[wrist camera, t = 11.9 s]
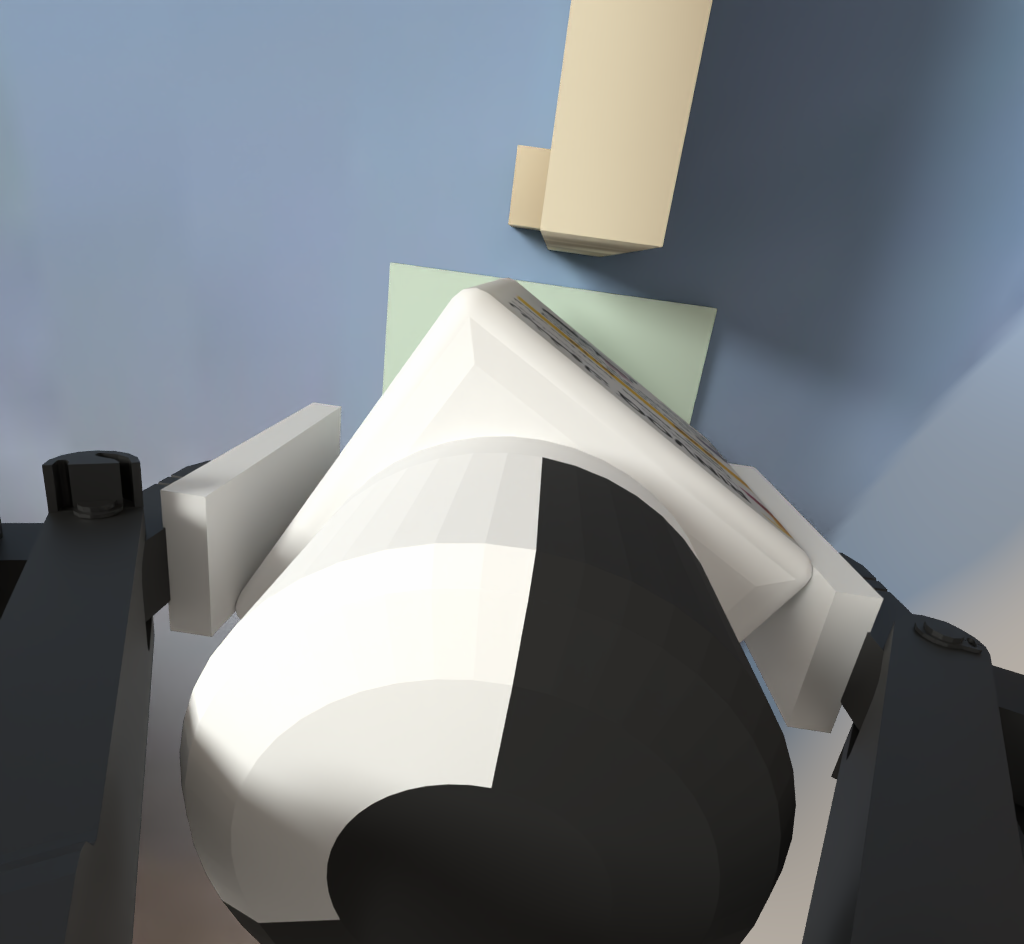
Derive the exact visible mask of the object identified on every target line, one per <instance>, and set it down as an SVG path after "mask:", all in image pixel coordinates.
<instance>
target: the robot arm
mask: <svg viewBox="0 0 1024 944" xmlns="http://www.w3.org/2000/svg"><path fill="white" fill-rule="evenodd" d="M340 427H341V406H334V405H327V404H320V403H312V404H310V405H308V406H306V407H305V408H303V409H301V410H299V411H298V412H296V413H294V414H292V415H291V416H289V417H287V418H285V419H284V420H282V421H280V422H278V423H277V424H275V425H273V426H271V427H270V428H268V429H266V430H264V431H263V432H261V433H259V434H257V435H256V436H254V437H252V438H250V439H249V440H247V441H245V442H243V443H242V444H240V445H238V446H236V447H235V448H233V449H231V450H229V451H228V452H226V453H224V454H222V455H221V456H219V457H217V458H215V459H214V460H212V461H210V460H209V461H206V462H202V463H198V464H195V465H191V466H187V467H185V468H183V469H182V470H180V471H178V472H176V473H174V474H172V475H171V477H167V478H165V479H163V480H162V481H160V482H159V483H158V484H154V485H152V486H151V487H149V488H147V489H145V490H143V491H142V480H141V468H140V461H139V459H138V457H135V456H133V455H131V454H129V453H123V452H117V451H85V452H76V453H71V454H65V455H61V456H58V457H55V458H53V459H50V460H48V461H47V462H46V463H44V464H43V465H42V469H43V476H44V483H45V490H46V497H47V504H48V511H49V513H48V516H47V518H46V520H45V522H44V523H1V519H0V944H132V938H133V924H134V910H135V896H136V883H137V869H138V855H139V841H140V828H141V814H142V800H143V786H144V773H145V759H146V745H147V731H148V717H149V704H150V690H151V676H152V662H153V649H154V624H153V615H154V614H155V613H157V612H158V611H159V610H160V609H161V608H162V607H163V606H165V605H166V604H167V603H168V604H169V618H170V630H171V631H177V632H184V633H190V634H197V635H203V636H210V637H212V636H213V635H214V634H215V633H216V632H217V631H218V630H219V628H220V627H221V626H222V625H223V624H224V623H225V622H226V621H227V620H228V619H229V618H230V617H231V615H232V614H233V613H234V612H235V611H236V609H235V607H236V603H237V600H238V598H239V595H240V593H241V591H242V590H243V589H244V587H245V586H246V585H247V583H248V582H249V580H250V579H251V578H252V576H253V575H254V573H255V572H256V571H257V569H258V568H259V566H260V565H261V564H262V562H263V561H264V559H265V558H266V557H267V555H268V554H269V552H270V551H271V550H272V548H273V547H274V546H275V544H276V543H277V541H278V540H279V539H280V537H281V536H282V534H283V533H284V532H285V530H286V529H287V527H288V526H289V525H290V523H291V522H292V520H293V519H294V518H295V516H296V515H297V514H298V512H299V511H300V509H301V508H302V507H303V505H304V504H305V502H306V501H307V500H308V498H309V497H310V495H311V494H312V493H313V491H314V490H315V488H316V487H317V486H318V484H319V483H320V481H321V480H322V479H323V477H324V476H325V475H326V473H327V472H328V470H329V469H330V468H331V466H332V465H333V463H334V462H335V461H336V459H337V458H338V456H339V455H340ZM728 464H729V465H730V466H731V467H732V468H733V469H734V471H735V472H736V473H737V474H738V475H739V476H740V478H741V479H742V480H743V481H744V482H745V483H746V484H747V486H748V487H749V488H750V489H751V490H752V491H753V493H754V494H755V495H756V496H757V497H758V498H759V499H760V501H761V502H762V503H763V504H764V505H765V506H766V508H767V509H768V510H769V511H770V512H771V513H772V515H773V516H774V517H775V518H776V519H777V520H778V521H779V523H780V524H781V525H782V526H783V527H784V528H785V530H786V531H787V532H788V533H789V534H790V535H791V536H792V538H793V539H794V540H795V541H796V542H797V543H798V545H799V546H800V547H801V548H802V549H803V550H804V551H805V553H806V554H807V556H808V557H809V559H810V561H811V564H812V577H811V578H810V580H809V581H808V583H807V584H806V585H805V586H804V587H803V588H802V589H801V590H800V591H798V592H797V593H796V594H795V595H794V596H793V597H792V598H790V599H789V600H788V601H787V602H786V603H785V604H784V605H783V606H781V607H780V608H779V609H778V610H777V611H776V612H775V613H773V614H772V615H771V616H770V617H769V618H768V619H767V620H765V621H764V622H763V623H762V624H761V625H760V626H759V627H757V628H756V629H755V630H754V631H753V632H752V633H751V634H750V635H748V636H747V637H746V638H745V639H744V641H745V643H746V645H747V647H748V649H749V651H750V653H751V655H752V657H753V659H754V661H755V663H756V665H757V667H758V669H759V671H760V673H761V675H762V677H763V679H764V681H765V683H766V685H767V687H768V689H769V691H770V693H771V695H772V697H773V699H774V701H775V703H776V705H777V707H778V709H779V711H780V713H781V715H782V717H783V719H784V721H785V723H786V725H787V726H788V727H795V728H801V729H808V730H814V731H821V732H827V733H831V731H832V728H833V726H834V723H835V721H836V718H837V715H838V713H839V710H840V708H841V705H843V707H844V708H845V710H846V711H847V713H848V714H849V716H850V717H851V719H852V721H853V724H852V727H851V729H850V732H849V734H848V737H847V739H846V742H845V744H844V747H843V749H842V752H841V754H840V756H839V759H838V761H837V764H836V766H835V769H834V771H833V774H832V776H831V777H833V778H835V779H837V783H836V787H835V792H834V797H833V801H832V806H831V811H830V815H829V820H828V825H827V830H826V834H825V839H824V843H823V848H822V853H821V857H820V862H819V867H818V871H817V876H816V880H815V885H814V890H813V895H812V899H811V904H810V909H809V913H808V918H807V922H806V927H805V932H804V936H803V941H802V944H1024V675H1022V674H1019V673H1015V672H1012V671H1009V670H1005V669H1002V668H999V667H996V666H993V665H992V663H991V657H990V654H989V652H988V650H987V649H986V647H985V646H984V645H983V644H982V643H980V641H978V640H977V639H976V638H974V637H973V636H971V635H969V634H968V633H966V632H964V631H963V630H961V629H959V628H957V627H955V626H953V625H951V624H949V623H947V622H944V621H941V620H937V619H934V618H930V617H926V616H923V615H915V614H912V613H910V612H909V610H908V609H907V608H906V607H905V606H904V605H903V604H901V603H900V602H899V601H898V600H897V599H896V598H895V597H894V596H893V595H892V594H891V593H890V592H887V589H886V588H885V587H884V586H883V585H882V584H881V583H880V582H879V581H876V578H875V577H874V576H873V575H872V574H871V573H870V572H869V571H868V570H867V569H866V568H865V567H864V566H863V565H861V564H859V563H858V562H856V561H854V560H853V559H851V558H849V557H848V556H846V555H844V554H843V553H838V552H837V551H836V550H835V549H834V548H833V547H832V546H831V545H830V544H829V543H828V542H827V541H826V540H825V539H824V538H823V537H822V536H821V535H820V534H819V533H818V531H817V530H816V529H815V528H814V527H813V526H812V525H811V524H810V523H809V522H808V521H807V520H806V519H805V518H804V517H803V516H802V515H801V514H800V513H799V512H798V511H797V510H796V509H795V508H794V507H793V506H792V505H791V504H790V503H789V502H788V501H787V500H786V499H785V498H784V497H783V496H782V495H781V494H780V493H779V492H778V491H777V490H776V489H775V488H774V487H773V485H772V484H771V483H770V482H769V481H768V480H767V479H766V478H765V477H764V476H763V475H762V474H761V473H760V472H759V471H758V470H757V469H756V468H755V467H751V466H744V465H737V464H730V463H728Z"/></svg>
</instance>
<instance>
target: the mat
mask: <svg viewBox="0 0 1024 944" xmlns="http://www.w3.org/2000/svg"><path fill="white" fill-rule="evenodd" d="M498 279H503V278H498V277H491V276H484V275H477V274H470V273H463V272H455V271H448V270H441V269H434V268H427V267H420V266H413V265H406V264H399V263H390V277H389V293H388V310H387V327H386V344H385V361H384V378H383V394H384V392H385V391H386V390H387V388H388V387H389V385H390V384H391V383H392V381H393V380H394V378H395V377H396V376H397V374H398V373H399V372H400V370H401V369H402V367H403V366H404V365H405V363H406V362H407V360H408V359H409V358H410V356H411V355H412V353H413V352H414V351H415V349H416V348H417V346H418V345H419V344H420V342H421V341H422V339H423V338H424V337H425V335H426V334H427V333H428V331H429V330H430V328H431V327H432V326H433V324H434V323H435V321H436V320H437V319H438V317H439V316H440V314H441V313H442V312H443V310H444V309H445V307H446V306H447V305H448V303H449V302H450V300H451V299H452V298H453V297H454V296H455V295H456V294H458V293H459V292H460V291H461V290H463V289H466V288H470V287H473V286H477V285H480V284H484V283H488V282H491V281H495V280H498ZM515 281H517V282H518V283H519V284H520V285H522V286H523V287H524V288H525V289H526V290H528V291H529V292H530V293H531V294H532V295H534V296H535V297H536V298H537V299H539V300H540V301H541V302H542V303H543V304H545V305H546V306H547V307H548V308H549V309H551V310H552V311H553V312H554V313H555V314H557V315H558V316H559V317H560V318H561V319H563V320H564V321H565V322H566V323H567V324H569V325H570V326H571V327H572V328H573V329H575V330H576V331H577V332H578V333H580V334H581V335H582V336H583V337H584V338H586V339H587V340H588V341H589V342H590V343H592V344H593V345H594V346H595V347H596V348H598V349H599V350H600V351H601V352H602V353H604V354H605V355H606V356H607V357H608V358H610V359H611V360H612V361H613V362H614V363H616V364H617V365H618V366H619V367H621V368H622V369H623V370H624V371H625V372H627V373H628V374H629V375H630V376H631V377H633V378H634V379H635V380H636V381H637V382H639V383H640V384H641V385H642V386H643V387H645V388H646V389H647V390H648V391H649V392H651V393H652V394H653V395H654V396H655V397H657V398H658V399H659V400H660V401H662V402H663V403H664V404H665V405H666V406H668V407H669V408H670V409H671V410H672V411H674V412H675V413H676V414H677V415H678V416H680V417H681V418H682V419H683V420H684V421H686V422H687V423H688V424H689V425H690V420H691V416H692V412H693V408H694V404H695V400H696V395H697V391H698V387H699V383H700V379H701V375H702V370H703V366H704V362H705V358H706V354H707V350H708V345H709V341H710V337H711V333H712V329H713V325H714V320H715V316H716V312H717V309H716V308H711V307H704V306H697V305H690V304H683V303H676V302H669V301H662V300H654V299H647V298H640V297H633V296H626V295H619V294H612V293H605V292H598V291H590V290H583V289H576V288H569V287H562V286H555V285H548V284H541V283H534V282H526V281H519V280H515Z"/></svg>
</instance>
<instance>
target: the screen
mask: <svg viewBox="0 0 1024 944" xmlns="http://www.w3.org/2000/svg"><path fill="white" fill-rule="evenodd" d="M712 1H713V0H571V7H570V14H569V22H568V29H567V36H566V44H565V51H564V58H563V66H562V73H561V80H560V88H559V95H558V102H557V109H556V117H555V124H554V131H553V139H552V146H551V149H544V148H536V147H529V146H522V145H518V148H517V157H516V165H515V173H514V182H513V190H512V198H511V207H510V215H509V223H508V224H509V225H510V226H511V227H518V228H525V229H532V230H539V231H541V234H542V236H543V238H544V241H545V243H546V246H547V248H548V250H554V251H561V252H568V253H576V254H583V255H590V256H597V257H603V256H610V255H616V254H622V253H628V252H634V251H641V250H647V249H653V248H659V247H663V242H664V237H665V232H666V227H667V222H668V217H669V212H670V207H671V202H672V198H673V193H674V188H675V183H676V178H677V173H678V168H679V163H680V158H681V153H682V148H683V143H684V138H685V134H686V129H687V124H688V119H689V114H690V109H691V104H692V99H693V94H694V89H695V84H696V79H697V74H698V69H699V65H700V60H701V55H702V50H703V45H704V40H705V35H706V30H707V25H708V20H709V15H710V10H711V5H712Z"/></svg>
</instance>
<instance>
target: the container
mask: <svg viewBox="0 0 1024 944" xmlns="http://www.w3.org/2000/svg"><path fill="white" fill-rule="evenodd" d="M811 577H812V564H811V561H810V559H809V557H808V556H807V554H806V553H805V551H804V550H803V549H802V548H801V547H800V546H799V545H798V543H797V542H796V541H795V540H794V539H793V538H792V536H791V535H790V534H789V533H788V532H787V531H786V530H785V528H784V527H783V526H782V525H781V524H780V523H779V521H778V520H777V519H776V518H775V517H774V516H773V515H772V513H771V512H770V511H769V510H768V509H767V508H766V506H765V505H764V504H763V503H762V502H761V501H760V499H759V498H758V497H757V496H756V495H755V494H754V493H753V491H752V490H751V489H750V488H749V487H748V486H747V484H746V483H745V482H744V481H743V480H742V479H741V478H740V476H739V475H738V474H737V473H736V472H735V471H734V469H733V468H732V467H731V466H730V465H729V464H728V462H727V461H726V460H725V459H724V458H723V457H722V456H721V454H720V453H719V452H718V451H717V450H716V449H715V447H714V446H713V445H712V444H711V443H710V442H709V441H708V440H707V439H706V438H705V437H704V436H703V435H701V434H700V433H699V432H698V431H697V430H695V429H694V428H693V427H692V426H690V425H689V424H688V423H687V422H686V421H684V420H683V419H682V418H681V417H680V416H678V415H677V414H676V413H675V412H674V411H672V410H671V409H670V408H669V407H668V406H666V405H665V404H664V403H663V402H662V401H660V400H659V399H658V398H657V397H655V396H654V395H653V394H652V393H651V392H649V391H648V390H647V389H646V388H645V387H643V386H642V385H641V384H640V383H639V382H637V381H636V380H635V379H634V378H633V377H631V376H630V375H629V374H628V373H627V372H625V371H624V370H623V369H622V368H621V367H619V366H618V365H617V364H616V363H614V362H613V361H612V360H611V359H610V358H608V357H607V356H606V355H605V354H604V353H602V352H601V351H600V350H599V349H598V348H596V347H595V346H594V345H593V344H592V343H590V342H589V341H588V340H587V339H586V338H584V337H583V336H582V335H581V334H580V333H578V332H577V331H576V330H575V329H573V328H572V327H571V326H570V325H569V324H567V323H566V322H565V321H564V320H563V319H561V318H560V317H559V316H558V315H557V314H555V313H554V312H553V311H552V310H551V309H549V308H548V307H547V306H546V305H545V304H543V303H542V302H541V301H540V300H539V299H537V298H536V297H535V296H534V295H532V294H531V293H530V292H529V291H528V290H526V289H525V288H524V287H523V286H522V285H520V284H519V283H518V282H517V281H515V280H513V279H511V278H503V279H498V280H495V281H491V282H488V283H484V284H480V285H477V286H473V287H470V288H466V289H463V290H461V291H460V292H459V293H458V294H456V295H455V296H454V297H453V298H452V299H451V300H450V302H449V303H448V305H447V306H446V307H445V309H444V310H443V312H442V313H441V314H440V316H439V317H438V319H437V320H436V321H435V323H434V324H433V326H432V327H431V328H430V330H429V331H428V333H427V334H426V335H425V337H424V338H423V339H422V341H421V342H420V344H419V345H418V346H417V348H416V349H415V351H414V352H413V353H412V355H411V356H410V358H409V359H408V360H407V362H406V363H405V365H404V366H403V367H402V369H401V370H400V372H399V373H398V374H397V376H396V377H395V378H394V380H393V381H392V383H391V384H390V385H389V387H388V388H387V390H386V391H385V392H384V394H383V395H382V397H381V398H380V399H379V401H378V402H377V404H376V405H375V406H374V408H373V409H372V410H371V412H370V413H369V415H368V416H367V417H366V419H365V420H364V422H363V423H362V424H361V426H360V427H359V429H358V430H357V431H356V433H355V434H354V436H353V437H352V438H351V440H350V441H349V443H348V444H347V445H346V447H345V448H344V449H343V451H342V452H341V454H340V455H339V456H338V458H337V459H336V461H335V462H334V463H333V465H332V466H331V468H330V469H329V470H328V472H327V473H326V475H325V476H324V477H323V479H322V480H321V481H320V483H319V484H318V486H317V487H316V488H315V490H314V491H313V493H312V494H311V495H310V497H309V498H308V500H307V501H306V502H305V504H304V505H303V507H302V508H301V509H300V511H299V512H298V514H297V515H296V516H295V518H294V519H293V520H292V522H291V523H290V525H289V526H288V527H287V529H286V530H285V532H284V533H283V534H282V536H281V537H280V539H279V540H278V541H277V543H276V544H275V546H274V547H273V548H272V550H271V551H270V552H269V554H268V555H267V557H266V558H265V559H264V561H263V562H262V564H261V565H260V566H259V568H258V569H257V571H256V572H255V573H254V575H253V576H252V578H251V579H250V580H249V582H248V583H247V585H246V586H245V587H244V589H243V590H242V591H241V593H240V595H239V598H238V600H237V603H236V607H235V609H236V613H237V616H238V617H239V618H240V619H241V620H240V621H239V623H238V624H237V625H236V626H235V627H234V628H233V630H232V631H231V632H230V633H229V635H228V636H227V637H226V638H225V639H224V641H223V642H222V643H221V644H220V646H219V647H218V648H217V649H216V651H215V652H214V653H213V654H212V656H211V657H210V659H209V661H208V662H207V664H206V666H205V668H204V670H203V672H202V674H201V675H200V677H199V679H198V681H197V683H196V685H195V687H194V689H193V692H192V695H191V698H190V701H189V705H188V708H187V711H186V714H185V717H184V721H183V729H182V737H181V746H180V766H181V783H182V790H183V796H184V802H185V808H186V813H187V818H188V822H189V826H190V831H191V835H192V839H193V843H194V846H195V849H196V851H197V854H198V856H199V858H200V861H201V863H202V866H203V868H204V870H205V873H206V875H207V876H208V878H209V880H210V881H211V883H212V885H213V886H214V888H215V890H216V891H217V893H218V895H219V896H220V898H221V900H222V901H223V902H224V904H225V905H226V906H227V907H228V909H229V910H230V911H231V912H232V914H233V915H234V916H235V917H236V919H237V920H238V921H239V922H240V924H241V925H242V926H243V927H244V928H245V929H246V930H247V931H248V932H249V933H250V934H251V935H252V936H253V937H254V938H255V939H256V940H257V941H258V942H259V943H260V944H740V943H741V942H742V941H743V939H744V938H745V937H746V936H747V934H748V933H749V931H750V930H751V929H752V928H753V926H754V925H755V923H756V921H757V919H758V917H759V915H760V913H761V911H762V909H763V907H764V906H765V904H766V902H767V900H768V898H769V896H770V894H771V892H772V890H773V888H774V886H775V884H776V881H777V880H778V877H779V876H780V874H781V871H782V869H783V866H784V863H785V859H786V856H787V853H788V850H789V846H790V843H791V840H792V834H793V825H794V816H795V808H796V801H795V788H794V775H793V768H792V764H791V761H790V757H789V753H788V749H787V746H786V742H785V738H784V735H783V732H782V730H781V728H780V726H779V724H778V722H777V720H776V718H775V716H774V714H773V711H772V709H771V707H770V705H769V703H768V701H767V699H766V697H765V695H764V693H763V691H762V688H761V686H760V684H759V683H758V680H757V678H756V676H755V674H754V672H753V670H752V668H751V666H750V664H749V662H748V660H747V658H746V656H745V653H744V651H743V649H742V647H741V645H740V642H742V641H743V640H744V639H745V638H746V637H747V636H748V635H750V634H751V633H752V632H753V631H754V630H755V629H756V628H757V627H759V626H760V625H761V624H762V623H763V622H764V621H765V620H767V619H768V618H769V617H770V616H771V615H772V614H773V613H775V612H776V611H777V610H778V609H779V608H780V607H781V606H783V605H784V604H785V603H786V602H787V601H788V600H789V599H790V598H792V597H793V596H794V595H795V594H796V593H797V592H798V591H800V590H801V589H802V588H803V587H804V586H805V585H806V584H807V583H808V581H809V580H810V578H811Z"/></svg>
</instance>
